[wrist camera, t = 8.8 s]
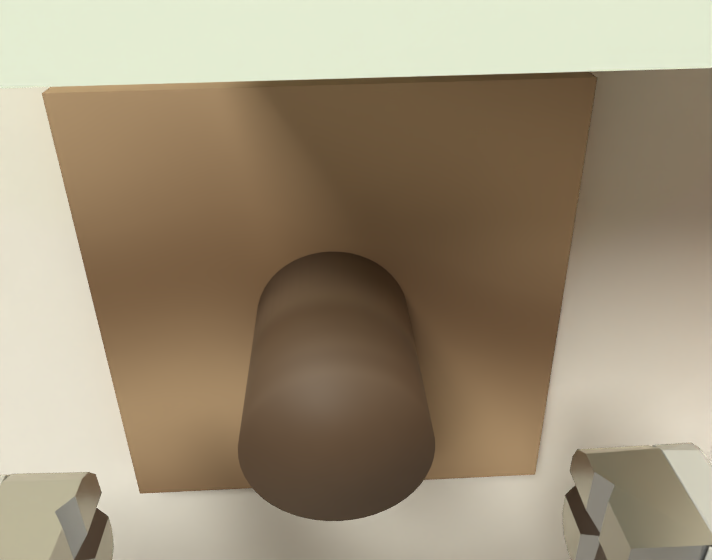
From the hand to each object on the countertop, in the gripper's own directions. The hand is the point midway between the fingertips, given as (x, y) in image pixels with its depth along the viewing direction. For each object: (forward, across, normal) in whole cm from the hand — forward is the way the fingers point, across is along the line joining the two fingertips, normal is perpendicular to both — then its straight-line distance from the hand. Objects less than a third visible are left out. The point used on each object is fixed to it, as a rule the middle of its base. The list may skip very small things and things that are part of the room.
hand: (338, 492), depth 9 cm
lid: (+5, 0, 0) cm, 5 cm away
